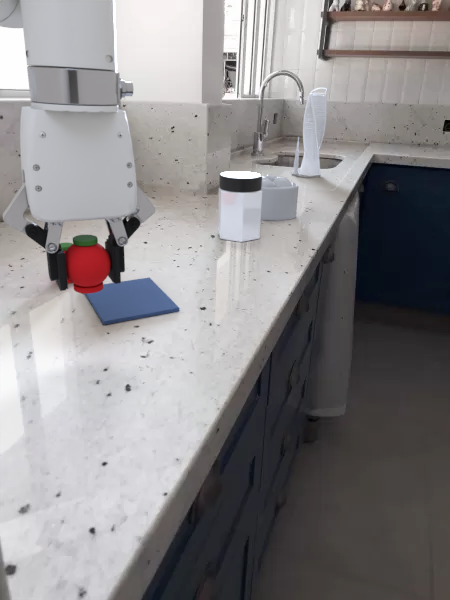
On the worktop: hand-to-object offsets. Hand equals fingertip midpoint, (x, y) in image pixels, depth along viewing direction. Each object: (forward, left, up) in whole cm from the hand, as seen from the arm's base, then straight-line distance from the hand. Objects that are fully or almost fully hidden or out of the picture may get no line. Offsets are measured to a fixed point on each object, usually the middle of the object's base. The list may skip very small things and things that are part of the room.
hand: (88, 280), depth 50 cm
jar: (+36, +34, -8) cm, 50 cm away
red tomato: (+1, +23, -8) cm, 24 cm away
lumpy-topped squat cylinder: (+51, +47, -8) cm, 70 cm away
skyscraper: (+94, +90, -8) cm, 130 cm away
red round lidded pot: (0, 0, -1) cm, 1 cm away
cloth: (+7, +12, -8) cm, 16 cm away
